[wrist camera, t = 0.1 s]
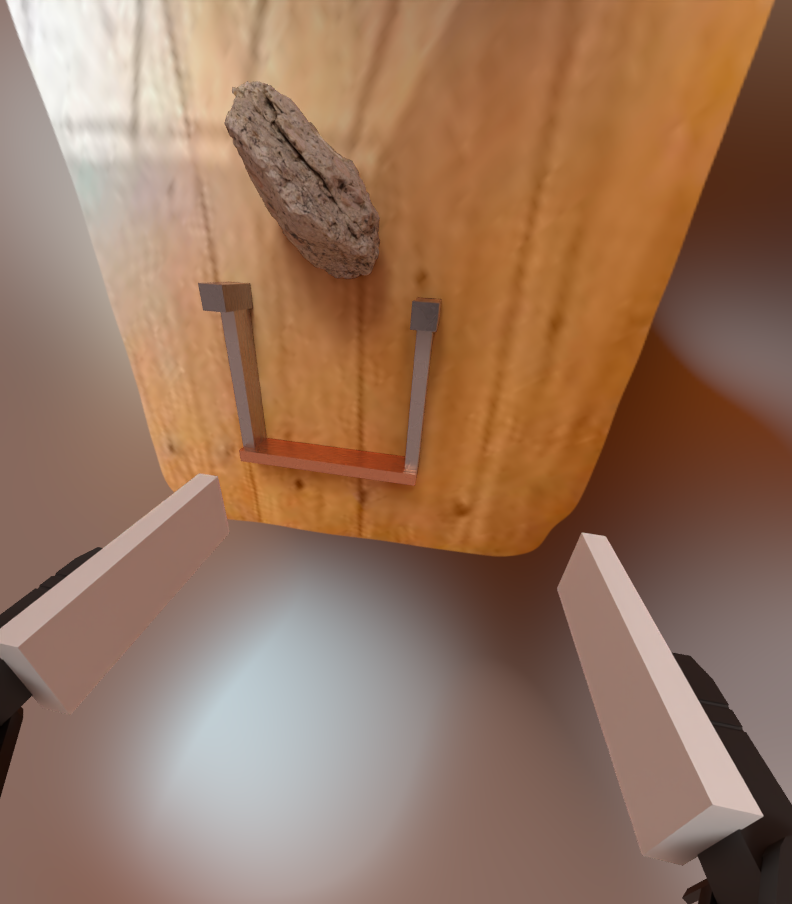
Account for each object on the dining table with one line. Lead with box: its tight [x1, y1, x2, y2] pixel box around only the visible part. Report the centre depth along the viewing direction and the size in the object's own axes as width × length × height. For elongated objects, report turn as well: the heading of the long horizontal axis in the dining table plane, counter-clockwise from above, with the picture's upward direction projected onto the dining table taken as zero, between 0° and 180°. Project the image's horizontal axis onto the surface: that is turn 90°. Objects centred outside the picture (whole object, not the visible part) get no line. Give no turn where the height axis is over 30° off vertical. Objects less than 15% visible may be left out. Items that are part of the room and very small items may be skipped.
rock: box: [225, 81, 380, 279], centre depth 28 cm, size 14×10×8 cm
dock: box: [198, 282, 442, 486], centre depth 38 cm, size 20×23×5 cm
